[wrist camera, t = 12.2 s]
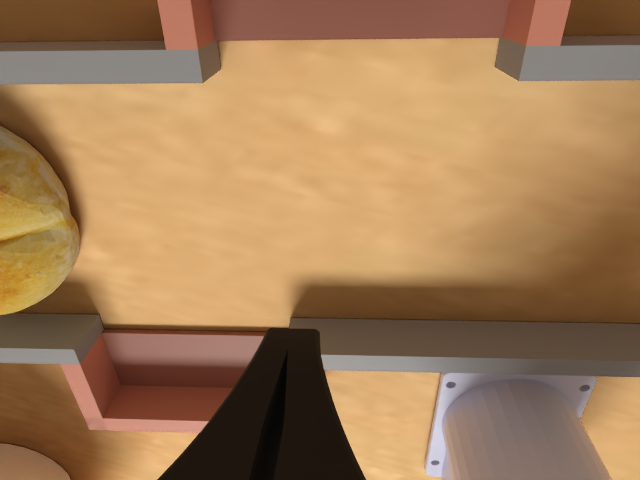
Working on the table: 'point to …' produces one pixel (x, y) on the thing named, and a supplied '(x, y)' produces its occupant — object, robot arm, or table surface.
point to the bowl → (28, 465)
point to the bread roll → (32, 226)
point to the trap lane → (335, 334)
